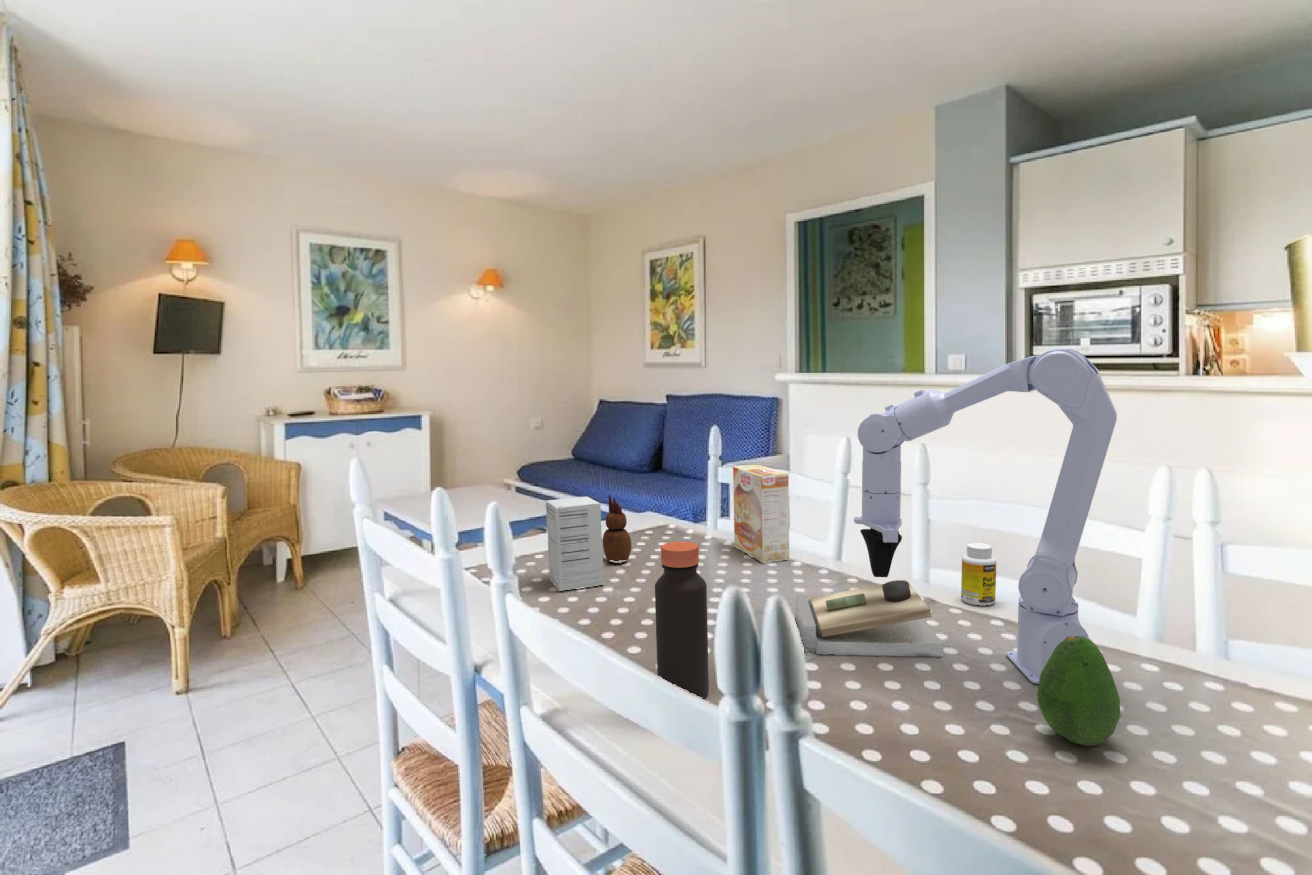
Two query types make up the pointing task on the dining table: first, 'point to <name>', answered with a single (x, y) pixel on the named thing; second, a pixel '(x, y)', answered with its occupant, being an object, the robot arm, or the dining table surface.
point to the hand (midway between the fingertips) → (880, 575)
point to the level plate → (867, 608)
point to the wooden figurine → (616, 534)
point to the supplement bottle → (978, 575)
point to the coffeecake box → (761, 512)
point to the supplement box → (574, 542)
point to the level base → (869, 637)
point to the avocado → (1079, 693)
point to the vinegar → (682, 619)
